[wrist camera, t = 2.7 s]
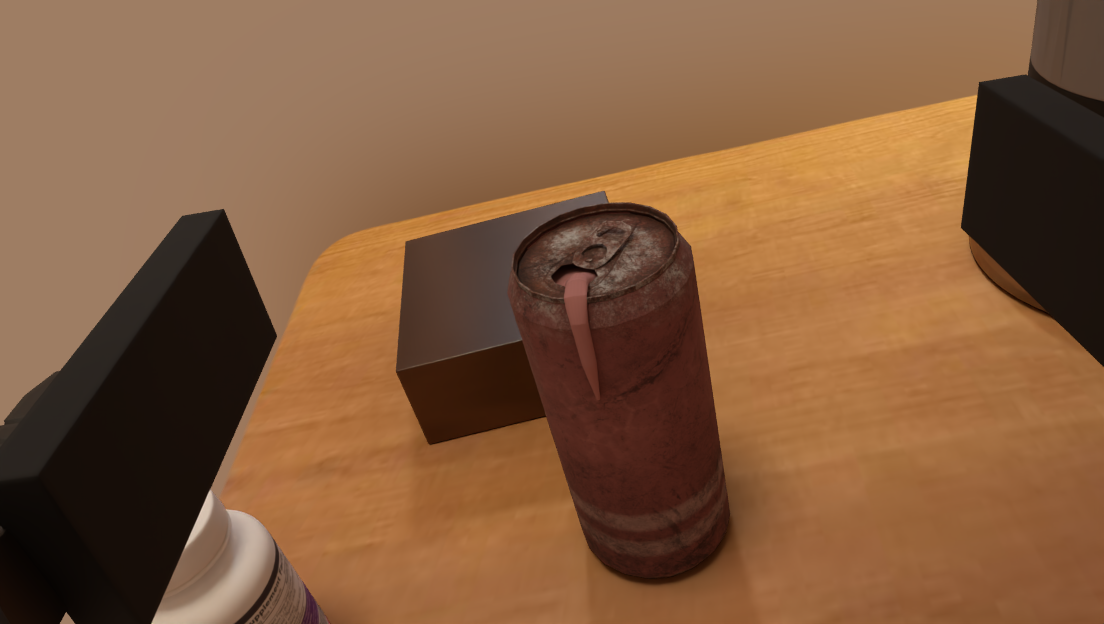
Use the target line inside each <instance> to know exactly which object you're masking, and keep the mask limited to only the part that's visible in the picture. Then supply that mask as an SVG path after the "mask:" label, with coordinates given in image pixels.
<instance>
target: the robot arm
mask: <svg viewBox="0 0 1104 624" xmlns="http://www.w3.org/2000/svg"><path fill="white" fill-rule="evenodd" d="M961 228H962V229H963V230H964V231H965V232H966V233H967V234H968V235H969V241H970V247H971V250H972V253H973V255H974V257H975V259H976V261H977V263H978V264H979V265H980V267H981V268H982V270H983V271H984V272H985V273H986V274H987V275H988V276H989V277H990V278H991V279H992V280H993V281H994V282H995V283H997V284H998V285H999V286H1000V287H1002V288H1003V289H1005V290H1006V291H1007V292H1009V293H1010V294H1012V295H1014V296H1015V297H1017V298H1019V299H1020V300H1022V301H1024V302H1026V303H1028V304H1030V305H1032V306H1034V307H1036V308H1038V309H1041V310H1043V311H1045V312H1048V313H1049V314H1050V315H1051V316H1052V317H1053V318H1054V319H1055V320H1056V321H1057V322H1058V323H1059V324H1060V325H1061V326H1062V327H1063V328H1064V329H1065V330H1066V331H1067V332H1069V333H1070V334H1071V335H1072V336H1073V337H1074V338H1075V339H1076V340H1077V341H1078V342H1079V343H1080V344H1081V345H1082V346H1083V347H1084V348H1085V349H1086V350H1087V351H1088V352H1089V353H1090V354H1091V355H1092V356H1093V357H1094V358H1095V359H1096V360H1097V361H1098V362H1099V363H1100V364H1101V365H1102V366H1103V367H1104V0H1037V9H1036V17H1035V25H1034V33H1033V41H1032V49H1031V56H1030V63H1029V71H1028V75H1020V76H1014V77H1008V78H1002V79H996V80H990V81H984V82H979V88H978V96H977V104H976V112H975V120H974V128H973V136H972V144H971V152H970V160H969V168H968V176H967V184H966V191H965V199H964V207H963V215H962V223H961ZM276 337H277V335H276V332H275V330H274V328H273V325H272V323H271V320H270V318H269V315H268V313H267V311H266V308H265V306H264V304H263V301H262V299H261V297H260V294H259V292H258V289H257V287H256V285H255V282H254V280H253V277H252V275H251V273H250V270H249V268H248V266H247V263H246V261H245V258H244V256H243V254H242V251H241V249H240V247H239V244H238V242H237V239H236V237H235V234H234V232H233V230H232V228H231V225H230V223H229V220H228V218H227V215H226V213H225V211H224V209H221V210H215V211H209V212H203V213H197V214H191V215H185V216H182V217H181V218H180V219H179V220H178V222H177V223H176V224H175V226H174V227H173V228H172V229H171V231H170V232H169V233H168V234H167V236H166V237H165V238H164V240H163V241H162V242H161V243H160V245H159V246H158V247H157V249H156V250H155V251H154V252H153V254H152V255H151V256H150V258H149V259H148V260H147V261H146V262H145V264H144V265H143V266H142V268H141V269H140V270H139V271H138V273H137V274H136V275H135V276H134V278H133V279H132V280H131V282H130V283H129V284H128V285H127V287H126V288H125V289H124V290H123V292H122V293H121V294H120V295H119V297H118V298H117V299H116V301H115V302H114V303H113V304H112V306H111V307H110V308H109V309H108V311H107V312H106V313H105V315H104V316H103V317H102V318H101V320H100V321H99V322H98V323H97V325H96V326H95V327H94V329H93V330H92V331H91V332H90V334H89V335H88V336H87V337H86V339H85V340H84V341H83V343H82V344H81V345H80V347H79V348H78V349H77V350H76V351H75V353H74V354H73V355H72V357H71V358H70V359H69V360H68V362H67V363H66V364H65V366H64V367H63V368H62V369H61V371H58V372H55V373H53V374H52V375H51V376H49V377H48V378H47V379H46V380H44V381H43V382H42V383H40V384H39V385H38V386H36V387H35V388H34V389H32V390H31V391H30V392H29V393H27V394H26V395H25V396H24V397H23V398H22V399H21V401H20V402H19V403H18V404H17V405H16V407H15V408H14V409H13V410H12V412H11V413H10V414H9V415H8V417H7V418H6V419H5V420H4V422H5V425H2V426H0V624H60V622H61V620H62V618H63V617H64V615H65V613H66V612H67V614H68V615H69V616H70V617H71V619H72V620H73V621H74V623H75V624H151V623H152V621H153V619H154V617H155V614H156V612H157V610H158V607H159V605H160V603H161V601H162V598H163V596H164V594H165V591H166V589H167V587H168V585H169V582H170V580H171V578H172V575H173V573H174V571H175V568H176V566H177V564H178V562H179V559H180V557H181V555H182V552H183V550H184V548H185V546H186V543H187V541H188V539H189V536H190V534H191V532H192V530H193V527H194V525H195V523H196V520H197V518H198V516H199V514H200V511H201V509H202V507H203V504H204V502H205V500H206V498H207V495H208V493H209V491H210V488H211V486H212V484H213V482H214V479H215V477H216V475H217V472H218V470H219V468H220V465H221V463H222V461H223V459H224V456H225V454H226V452H227V449H228V447H229V445H230V443H231V440H232V438H233V436H234V433H235V431H236V429H237V427H238V424H239V422H240V420H241V418H242V415H243V413H244V411H245V408H246V406H247V404H248V401H249V399H250V397H251V395H252V392H253V390H254V388H255V385H256V383H257V381H258V379H259V376H260V374H261V372H262V369H263V367H264V365H265V362H266V360H267V358H268V356H269V354H270V351H271V349H272V346H273V344H274V342H275V340H276Z"/></svg>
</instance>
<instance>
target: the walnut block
mask: <svg viewBox="0 0 1104 624" xmlns="http://www.w3.org/2000/svg"><path fill="white" fill-rule="evenodd" d="M601 203H609V202H608V199H607V196H606V193H605V191H601V192H597V193H593V194H589V195H586V196H582V197H578V198H574V199H570V200H566V201H562V202H558V203H554V204H550V205H546V206H543V207H539V208H535V209H531V210H527V211H523V212H519V213H515V214H511V215H507V216H503V217H500V218H496V219H492V220H488V221H484V222H480V223H476V224H472V225H468V226H464V227H460V228H457V229H453V230H449V231H445V232H441V233H437V234H433V235H429V236H425V237H421V238H417V239H414V240H410V241H406V245H405V258H404V271H403V284H402V298H401V311H400V324H399V337H398V351H397V364H396V373H397V375H398V377H399V380H400V382H401V384H402V386H403V388H404V391H405V393H406V395H407V397H408V399H409V402H410V404H411V406H412V408H413V410H414V413H415V415H416V417H417V419H418V422H419V424H420V426H421V428H422V430H423V433H424V435H425V437H426V439H427V441H428V443H429V444H432V443H436V442H440V441H444V440H448V439H453V438H457V437H461V436H465V435H469V434H473V433H477V432H481V431H485V430H489V429H493V428H498V427H502V426H506V425H510V424H514V423H518V422H522V421H526V420H530V419H534V418H539V417H543V416H546V414H545V411H544V407H543V404H542V401H541V398H540V395H539V392H538V388H537V385H536V382H535V379H534V376H533V373H532V370H531V366H530V363H529V360H528V357H527V354H526V351H525V348H524V344H523V341H522V338H521V335H520V332H519V329H518V325H517V322H516V319H515V316H514V313H513V310H512V307H511V303H510V300H509V297H508V294H507V291H508V284H509V277H510V273H511V264H512V257H513V253H514V251H515V250H516V248H517V247H518V245H519V244H520V242H521V240H522V239H523V238H524V237H526V236H527V235H528V234H529V233H530V232H531V231H533V230H534V229H535V228H536V227H537V226H539V225H541V224H542V223H544V222H546V221H548V220H550V219H552V218H553V217H555V216H557V215H560V214H562V213H565V212H568V211H571V210H574V209H577V208H580V207H585V206H590V205H596V204H601Z"/></svg>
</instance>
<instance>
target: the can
mask: <svg viewBox="0 0 1104 624" xmlns="http://www.w3.org/2000/svg"><path fill="white" fill-rule="evenodd" d="M507 294H508V297H509V300H510V303H511V307H512V310H513V313H514V316H515V319H516V322H517V325H518V329H519V332H520V335H521V338H522V341H523V344H524V348H525V351H526V354H527V357H528V360H529V363H530V366H531V370H532V373H533V376H534V379H535V382H536V385H537V388H538V392H539V395H540V398H541V401H542V404H543V407H544V411H545V414H546V417H547V420H548V423H549V426H550V429H551V433H552V436H553V439H554V442H555V445H556V448H557V451H558V455H559V458H560V461H561V464H562V467H563V470H564V474H565V477H566V480H567V483H568V486H569V489H570V492H571V496H572V499H573V502H574V505H575V508H576V511H577V514H578V518H579V521H580V524H581V527H582V530H583V533H584V535H585V538H586V540H587V543H588V545H589V548H590V549H591V550H592V551H593V552H594V553H595V554H596V556H597V557H598V558H599V559H600V560H601V561H602V562H603V563H604V564H606V565H608V566H610V567H612V568H614V569H616V570H618V571H620V572H622V573H624V574H628V575H632V576H638V577H643V578H649V579H653V578H662V577H672V576H675V575H677V574H680V573H682V572H685V571H687V570H690V569H692V568H694V567H695V566H696V565H697V564H699V563H700V562H701V561H702V560H704V559H705V558H706V557H708V556H709V555H710V554H711V553H713V552H714V550H715V549H716V547H717V546H718V544H719V543H720V541H721V540H722V538H723V537H724V535H725V534H726V530H727V525H728V521H729V517H730V510H729V503H728V496H727V489H726V482H725V475H724V468H723V461H722V454H721V448H720V441H719V434H718V427H717V420H716V413H715V406H714V399H713V392H712V385H711V378H710V371H709V364H708V357H707V350H706V343H705V336H704V330H703V323H702V316H701V309H700V302H699V295H698V288H697V281H696V274H695V267H694V261H693V255H692V250H691V246H690V245H689V244H688V242H687V241H686V240H685V239H684V238H683V237H682V236H681V234H680V233H679V232H678V231H677V226H676V225H675V223H674V222H673V221H672V220H671V219H670V218H669V217H668V215H667V214H665V213H663V212H661V211H659V210H656V209H654V208H652V207H650V206H645V205H640V204H634V203H601V204H596V205H590V206H585V207H580V208H577V209H574V210H571V211H568V212H565V213H562V214H560V215H557V216H555V217H553V218H552V219H550V220H548V221H546V222H544V223H542V224H541V225H539V226H537V227H536V228H535V229H534V230H533V231H531V232H530V233H529V234H528V235H527V236H526V237H524V238H523V239H522V240H521V242H520V244H519V245H518V247H517V248H516V250H515V251H514V253H513V257H512V264H511V273H510V277H509V284H508V291H507Z"/></svg>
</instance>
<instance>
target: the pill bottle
mask: <svg viewBox="0 0 1104 624" xmlns="http://www.w3.org/2000/svg"><path fill="white" fill-rule="evenodd" d="M151 624H330V622H329V620H328V619H327V617H326V615H325V614H324V613H323V611H322V610H321V608H320V607H319V605H318V604H317V602H316V601H315V599H314V598H313V596H312V595H311V593H310V592H309V590H308V589H307V587H306V586H305V584H304V583H303V581H302V580H301V578H300V577H299V576H298V574H297V573H296V571H295V570H294V568H293V567H292V565H291V564H290V562H289V561H288V560H287V558H286V557H285V555H284V554H283V552H282V551H281V549H280V548H279V546H278V545H277V543H276V542H275V540H274V539H273V538H272V536H271V535H270V533H269V532H268V531H267V529H266V528H265V527H264V526H263V525H262V523H261V522H260V521H258V520H257V519H256V518H254V517H253V516H251V515H249V514H246V513H244V512H240V511H235V510H226V509H225V507H224V505H223V504H222V502H221V501H220V500H219V499H218V498H217V496H216V495H215V494H214V493H213V491H212V490H211V489H210V491H209V493H208V495H207V498H206V500H205V502H204V504H203V507H202V509H201V511H200V514H199V516H198V518H197V520H196V523H195V525H194V527H193V530H192V532H191V534H190V536H189V539H188V541H187V543H186V546H185V548H184V550H183V552H182V555H181V557H180V559H179V562H178V564H177V566H176V568H175V571H174V573H173V575H172V578H171V580H170V582H169V585H168V587H167V589H166V591H165V594H164V596H163V598H162V601H161V603H160V605H159V607H158V610H157V612H156V614H155V617H154V619H153V621H152V623H151Z"/></svg>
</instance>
